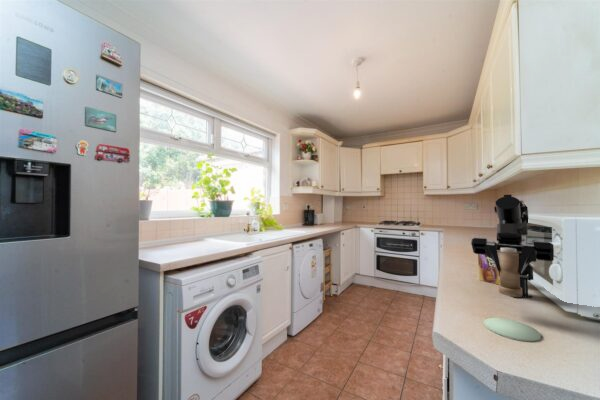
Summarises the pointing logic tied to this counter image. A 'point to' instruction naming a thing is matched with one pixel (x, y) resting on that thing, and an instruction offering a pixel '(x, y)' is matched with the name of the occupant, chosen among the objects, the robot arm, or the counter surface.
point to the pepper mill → (509, 272)
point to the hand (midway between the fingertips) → (509, 271)
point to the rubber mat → (512, 329)
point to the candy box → (488, 269)
